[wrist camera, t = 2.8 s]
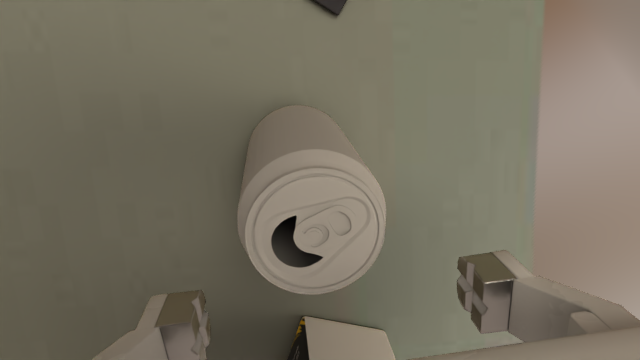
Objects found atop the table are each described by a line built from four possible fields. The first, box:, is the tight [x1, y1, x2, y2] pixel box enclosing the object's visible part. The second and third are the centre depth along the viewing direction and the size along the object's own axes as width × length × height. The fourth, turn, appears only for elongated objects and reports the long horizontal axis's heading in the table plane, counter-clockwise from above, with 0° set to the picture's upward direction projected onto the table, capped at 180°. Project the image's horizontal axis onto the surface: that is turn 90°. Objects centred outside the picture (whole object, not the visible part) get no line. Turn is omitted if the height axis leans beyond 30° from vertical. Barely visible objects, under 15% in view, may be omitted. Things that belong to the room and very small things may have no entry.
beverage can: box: [237, 105, 386, 294], centre depth 22 cm, size 6×6×12 cm
